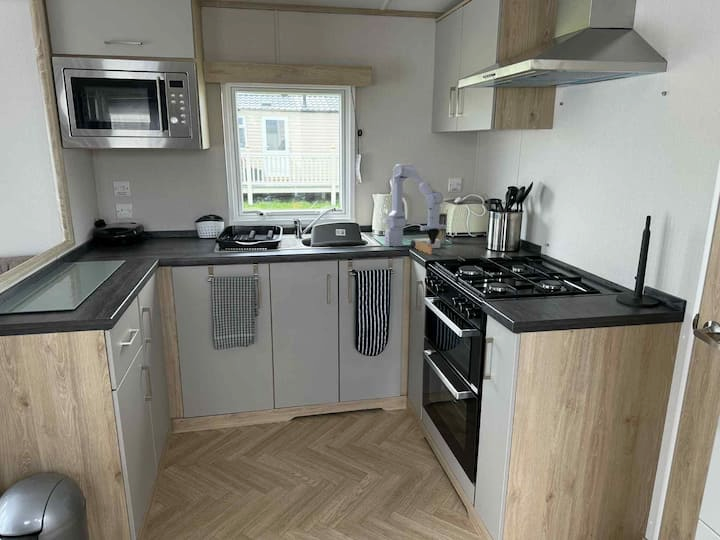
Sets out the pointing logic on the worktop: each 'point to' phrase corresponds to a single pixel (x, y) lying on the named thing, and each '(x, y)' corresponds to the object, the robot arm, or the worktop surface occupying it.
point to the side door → (425, 247)
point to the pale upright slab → (425, 242)
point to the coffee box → (442, 232)
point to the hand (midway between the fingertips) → (432, 243)
